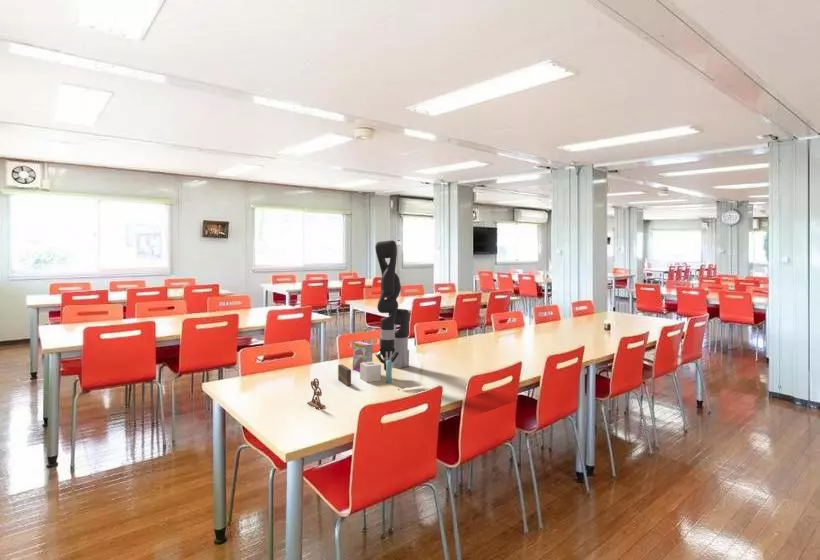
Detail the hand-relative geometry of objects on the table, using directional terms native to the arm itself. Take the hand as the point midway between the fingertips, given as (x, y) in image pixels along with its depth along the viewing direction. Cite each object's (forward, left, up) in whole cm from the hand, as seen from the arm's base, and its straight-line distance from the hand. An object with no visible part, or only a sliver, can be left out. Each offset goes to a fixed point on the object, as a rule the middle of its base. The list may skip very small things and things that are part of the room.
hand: (386, 370), depth 246 cm
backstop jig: (+11, 0, -4) cm, 12 cm away
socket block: (+9, 0, -3) cm, 10 cm away
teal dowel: (+3, +9, -5) cm, 11 cm away
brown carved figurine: (+45, +23, -5) cm, 51 cm away
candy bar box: (+6, -17, -5) cm, 19 cm away
